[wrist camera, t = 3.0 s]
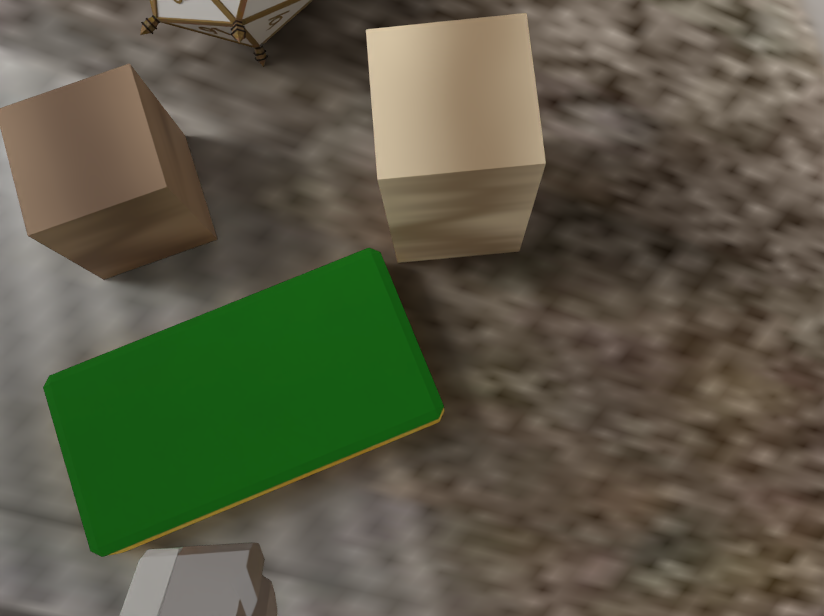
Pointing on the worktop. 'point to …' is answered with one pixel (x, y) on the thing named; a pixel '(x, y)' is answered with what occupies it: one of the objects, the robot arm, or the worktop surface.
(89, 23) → the worktop surface
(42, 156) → the walnut block
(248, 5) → the game die
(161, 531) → the dish sponge
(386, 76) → the maple block
